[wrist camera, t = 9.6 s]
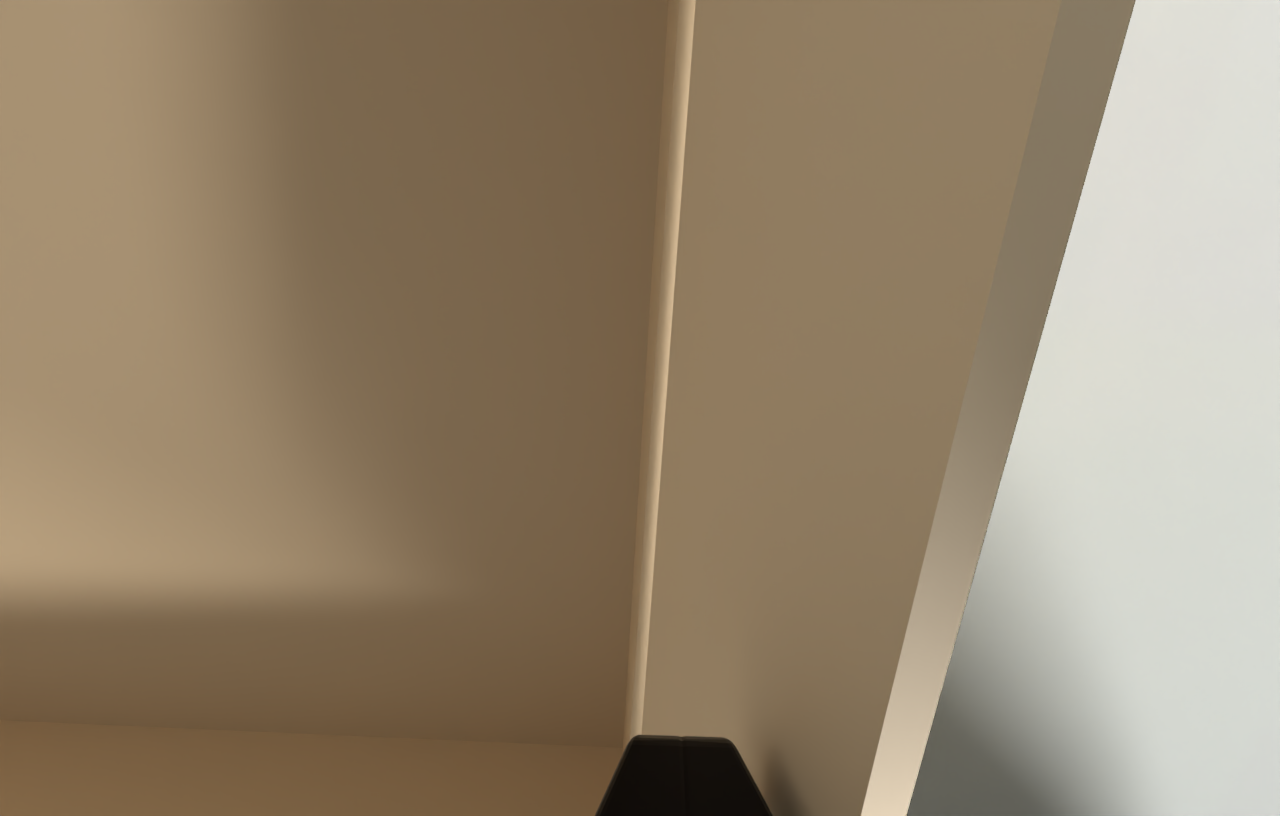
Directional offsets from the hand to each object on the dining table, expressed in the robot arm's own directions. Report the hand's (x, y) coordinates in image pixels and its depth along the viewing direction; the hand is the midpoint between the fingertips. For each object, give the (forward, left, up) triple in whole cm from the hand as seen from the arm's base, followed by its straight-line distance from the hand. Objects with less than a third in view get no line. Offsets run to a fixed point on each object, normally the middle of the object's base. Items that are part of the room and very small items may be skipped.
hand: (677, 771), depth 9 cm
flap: (0, 0, -3) cm, 3 cm away
